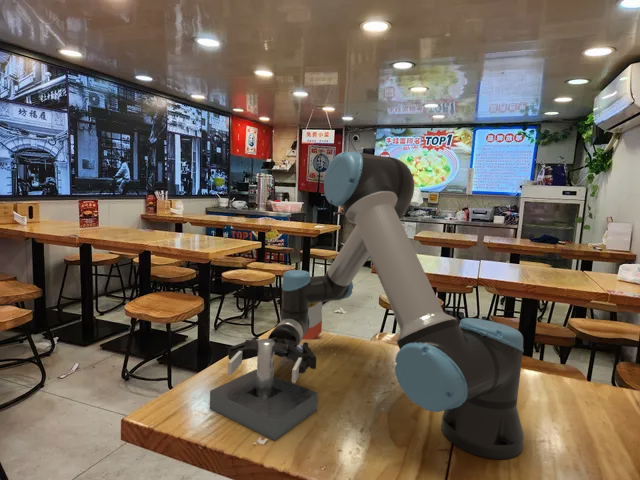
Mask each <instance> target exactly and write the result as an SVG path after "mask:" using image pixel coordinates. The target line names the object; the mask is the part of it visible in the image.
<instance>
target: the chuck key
mask: <svg viewBox="0 0 640 480" xmlns="http://www.w3.org/2000/svg"><path fill="white" fill-rule="evenodd" d="M244 342H245V348H246V349H255V350H258V356H257V361H256V363H257V365H256V370H257V386H256V397H258V398H260V399H262V400H265V401H266V400H268V399H270V398H271V397H273V376H275V374H274V372H275V368H274V367H275V355H274V352H282V353H287V351H288V344H281V343H275V341H274V340H272V339H268V338H262V339H260V340H259V341H254V340H251V339H246V340H245V341H244Z"/></svg>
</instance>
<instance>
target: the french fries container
mask: <svg viewBox="0 0 640 480" xmlns="http://www.w3.org/2000/svg"><path fill="white" fill-rule="evenodd" d="M308 316H309V319H310V324H309V329H308V330H307V332H306V334H305V335H304V336H303V338H302V340H314V339H315V338H316V337H318V335H319V336H320V334H321V333H322V329H323V328H322V327H323V302H317V303H309V307H308Z"/></svg>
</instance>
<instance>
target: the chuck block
mask: <svg viewBox="0 0 640 480" xmlns="http://www.w3.org/2000/svg"><path fill="white" fill-rule="evenodd" d="M256 386H257V368H255V369H253V370H251V371H249V372H247V373H245V374H243V375H240V376H239V377H237V378H234V379H232V380H230V381H228V382H226V383H223V384H222V385H220V386H218V387H216V388H212V389H211V390H209V410H211V411H213V412H215V413H217V414H219V415H222V416H224V417H226V418H228V419H230V420H232V421H234V422H236V423H238V424H240V425H241V426H244V427H246V428H248V429H250V430H252V431H254V432H256V433H259V434H260V435H262V436H264V437H266V438H268V439H270V440H272V441H274V442H275V441H276V440H278V439H280V438H281V437H282V436H283V435H284V434H286V433H288V432H289V431H290V430H291V429H293V428H295V426H297V425H298V424H300V423H301V422H303V421H304V420H305V419H307V418H308V417H310V416H311V415H312V414H313V413H315V412H316V411H318V408H317V407H318V395H319V392H317V391H315V390H312V389H309V388H306V387H304V386H301V385H299V384H296V383H292V381H291V382H290V381H288V380H285V379H282V378H280V377H277V376H275V375H273V397H271V398H270V399H268V400H266V401H265V400H262V399H260V398H258V397H256Z"/></svg>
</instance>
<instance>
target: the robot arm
mask: <svg viewBox="0 0 640 480" xmlns="http://www.w3.org/2000/svg"><path fill="white" fill-rule="evenodd" d="M323 191H324V192H323V193H324V196H325V198H326V200H327V201H328V203H329V204H330V205H333V206H334V207H341V208H342V209H341V210H342V211H343V214H344V216H345V218H346V220H347V221H348V222H349V223H351V224H353V225H354V224H355V227H353V230H352V231H351V233H350V235H349V236H348V237H347V240H346V241H345V242H344V244H343V246H342V247H341V249H340V250H339V252H338V254H337V255H336V257H335V259H334V260H333V262H332V263H331V264H330V266H329V268H328V270H327V271H326V272H325V274H323V275H315V276H311V274H310V272H309V271H307V270H302V269H297V270H296V269H291V270H290V269H289V270H286V271H285V272H284V274H283V277H282V284H281V285H282V286H281V291H282V292H281V310H280V311H281V312H280V313H281V314H280V322H279V323H277V325H276V326H275V328H274V329H273V330H272V331H271V332H270V334H269V335H268V337H267V339H272V340H274V341H275V343H281V344H288V351H287V353H282V352H274V356H277V357H278V358H279V357H280V358H285V359H287V360H288V361H289V360H291V361H292V362H293V363H294V366H293V368H292V369H291V370H292V371H291V383H294V384H296V382H297V381H298V378H299V376H300V375H301V374H304V373H306V370H307V369H308V368H309V369H312V370H316V368H317V356H316V355H315V353H314V352H313V351H312V350H311V348H310V347H309V342H307V341H306V342H303V343H302V344H300V343H301V341H302V340H303V339H302V338H303V336H304V335H305V334H306V332H307V330H308V329H309V324H310V319H309V316H308V307H309V303H317V302H322V303H324V302H332V301H333V302H334V301H341V300H344V299H348V298H350V297H351V295H352V294H353V289H354V283H353V280H354V279H355V278H356V276H357V275H358V273H359V271H360V270H361V269H362V268H363V266H364V265H365V263H366V262H367V260H368V259H369V257H370V260H371V263H372V264H373V267H374V270H375V272H376V275H377V277H378V279H379V281H380V284H381V287H382V288H383V291H384V294H385V296H386V299H387V301H388V303H389V305H390V308H391V310H392V313H393V315H394V317H395V321H396V322H397V325H398V327H399V333H398V336H397V338H396V343H397V345H398V348H399V351H398V352H397V353H396V356H395V360H394V362H395V363H396V364H395V365H394V373H395V377H396V380H397V382H398V385H399V387H400V389H401V390H402V392H403V393H404V394H405V396H406V397H407V398H408V399H409V400H410V401H411V403H413V404H414V405H417V406H419V407H420V408H421V409H423V410H426V411H428V412H432V413H433V412H435V413H437V412H443V413H442V416H441V417H442V418H441V426H440V428H441V432H442V433H443V435H444V437H446V438H447V440H448V441H449V442H450V443H452V444H453V445H455V446H456V447H457V448H459V449H461V450H462V451H466V452H467V453H470V454H473V455H475V456H477V457H478V456H479V457H482V458H487V459H492V460H506V459H512V458H515V457H517V456H518V455H520V454H521V453H522V451H523V447H524V431H523V428H522V423H521V419H520V415H519V411H518V398H519V389H520V377H521V372H522V371H521V369H522V361H523V353H524V336H523V334H522V333H521V332H520V331H519V330H518V329H516V328H515V327H512V326H509V325H506V324H503V323H499V322H495V321H491V320H486V319H480V318H475V317H474V318H473V317H466V318H461V320H460V322H458V320H457V318H456V317H454V316H452V315H449V314H448V313H446V312H444V310H443V308H442V306H441V304H440V302H439V300H438V296H436V293H435V291H434V289H433V287H432V284H431V283H430V281H429V278H428V276H427V274H426V272H425V270H424V267H423V265H422V263H421V262H420V259H419V257H418V256H417V253H416V251H415V249H414V247H413V245H412V243H411V240H410V238H409V236H408V233H407V231H406V230H405V227H404V225H403V223H402V221H401V219H402V217H403V216H404V215H405V213H406V211H407V210H408V209H409V206H410V204H411V202H412V199H413V197H414V191H415V179H414V175H413V173H412V170H411V169H410V168H409V166H408V165H407V164H406V163H405V162H404V161H402V160H400V159H398V158H396V157H393V156H392V157H391V156H384V155H376V154H370V153H364V152H359V151H357V150H356V151H343V152H340V153H338V154H337V155H336V156H334V157H333V158H332V160H331V161H330V163H329V164H328V166H327V168H326V171H325V177H324V180H323ZM259 339H260V338H259V336H255V337H253V338H251V339H250V340H254V341H259ZM253 358H258V350H255V349H246V348H245V341H244V342H241V343H238V344H235V345H233V346H230V347H228V358H227V359H228V360H229V361H228V362H227V375H228V376H232V375H233V374H234V372H235V371H237V369H238V368H239V367H240V366H241V365H242V364H243V361H245V360H248V359H253Z"/></svg>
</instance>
